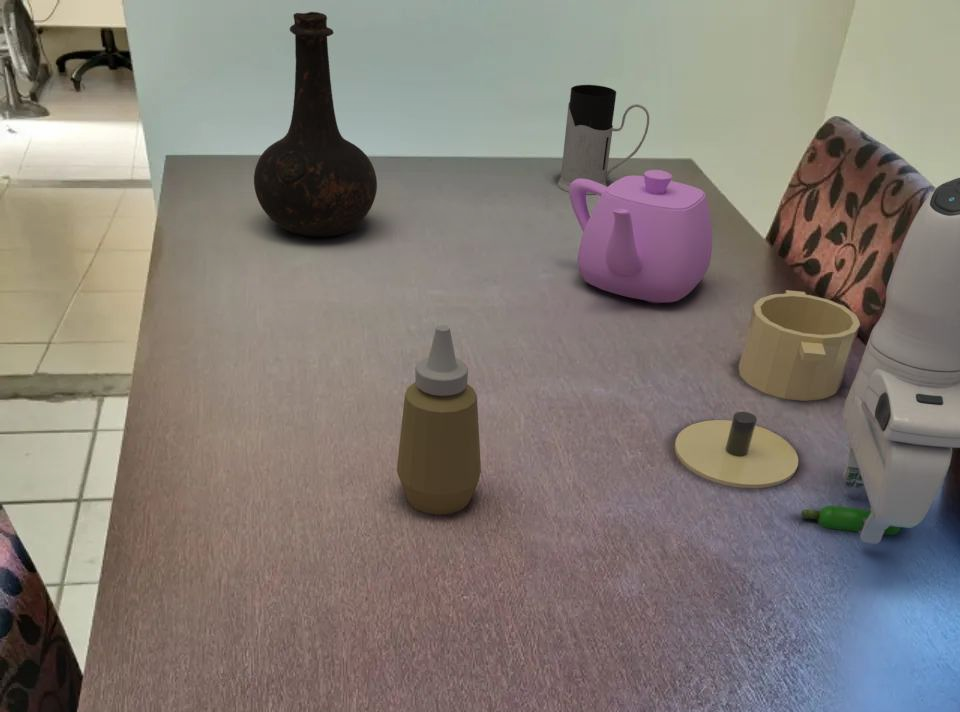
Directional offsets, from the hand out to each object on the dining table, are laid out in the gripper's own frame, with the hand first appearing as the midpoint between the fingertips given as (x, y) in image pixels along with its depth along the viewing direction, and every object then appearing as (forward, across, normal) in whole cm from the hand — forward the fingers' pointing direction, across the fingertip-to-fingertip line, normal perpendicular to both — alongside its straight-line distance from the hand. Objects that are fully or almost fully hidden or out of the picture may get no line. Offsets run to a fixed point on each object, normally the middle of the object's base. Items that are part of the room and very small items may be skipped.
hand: (859, 510), depth 94 cm
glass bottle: (+3, -66, -70) cm, 97 cm away
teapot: (+3, -56, -21) cm, 60 cm away
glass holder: (+3, -98, -28) cm, 102 cm away
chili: (+2, 0, 0) cm, 2 cm away
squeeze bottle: (+3, +3, -41) cm, 41 cm away
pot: (+2, -31, -3) cm, 31 cm away
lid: (+2, -11, -11) cm, 15 cm away
